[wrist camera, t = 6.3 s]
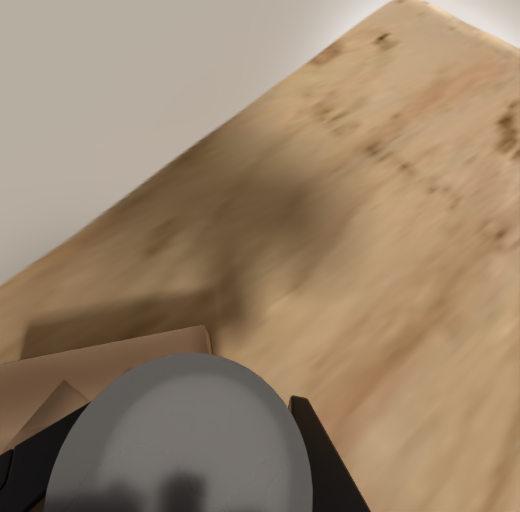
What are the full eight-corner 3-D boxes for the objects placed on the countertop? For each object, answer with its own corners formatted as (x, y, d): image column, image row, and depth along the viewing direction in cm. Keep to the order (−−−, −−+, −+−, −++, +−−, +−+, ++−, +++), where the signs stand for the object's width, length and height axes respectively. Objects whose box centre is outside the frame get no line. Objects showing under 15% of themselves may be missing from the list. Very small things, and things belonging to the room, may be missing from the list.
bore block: (242, 566, 18) (241, 593, 15) (-7, 634, 16) (-58, 677, 14) (209, 335, 23) (203, 324, 20) (15, 374, 21) (-19, 367, 19)
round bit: (281, 466, 14) (361, 578, 4) (204, 503, 13) (66, 752, 3) (251, 387, 15) (253, 319, 5) (180, 418, 14) (26, 409, 5)
